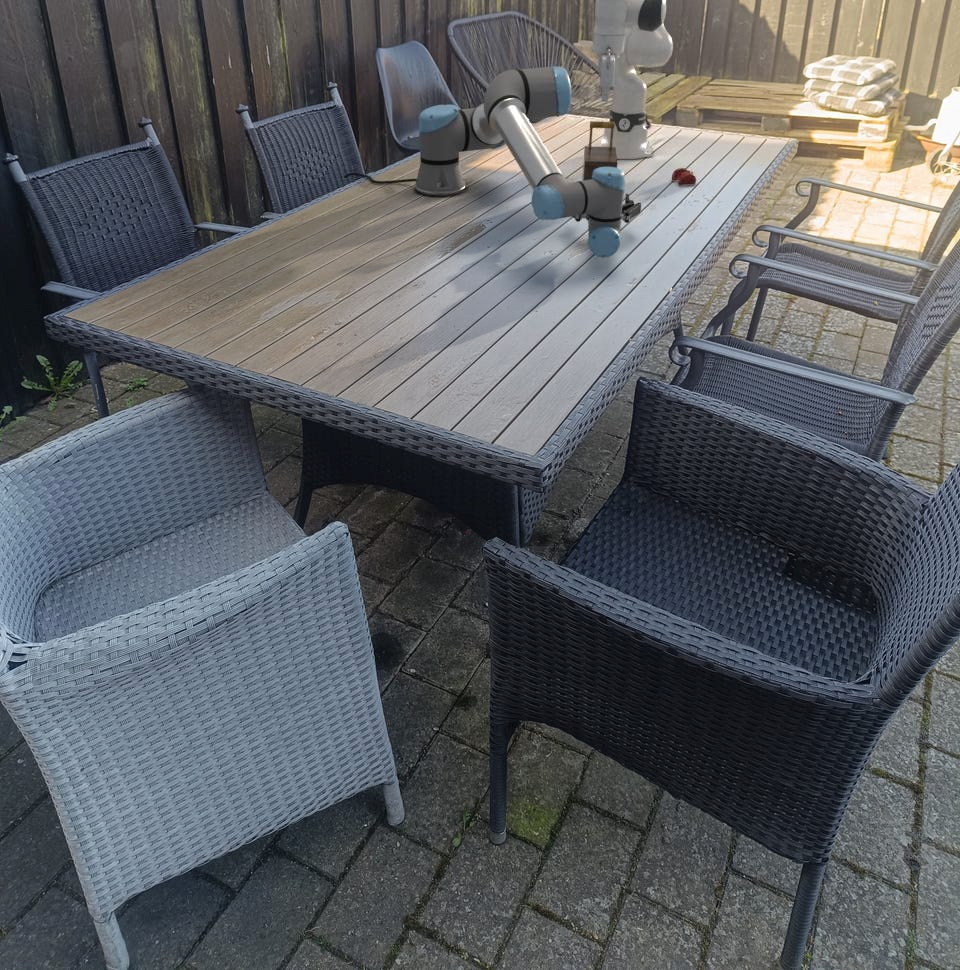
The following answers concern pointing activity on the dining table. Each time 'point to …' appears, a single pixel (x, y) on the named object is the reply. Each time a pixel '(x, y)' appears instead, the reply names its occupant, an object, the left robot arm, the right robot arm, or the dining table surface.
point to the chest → (589, 171)
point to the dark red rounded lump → (684, 176)
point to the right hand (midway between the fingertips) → (604, 98)
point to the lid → (600, 148)
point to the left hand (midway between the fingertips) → (601, 198)
